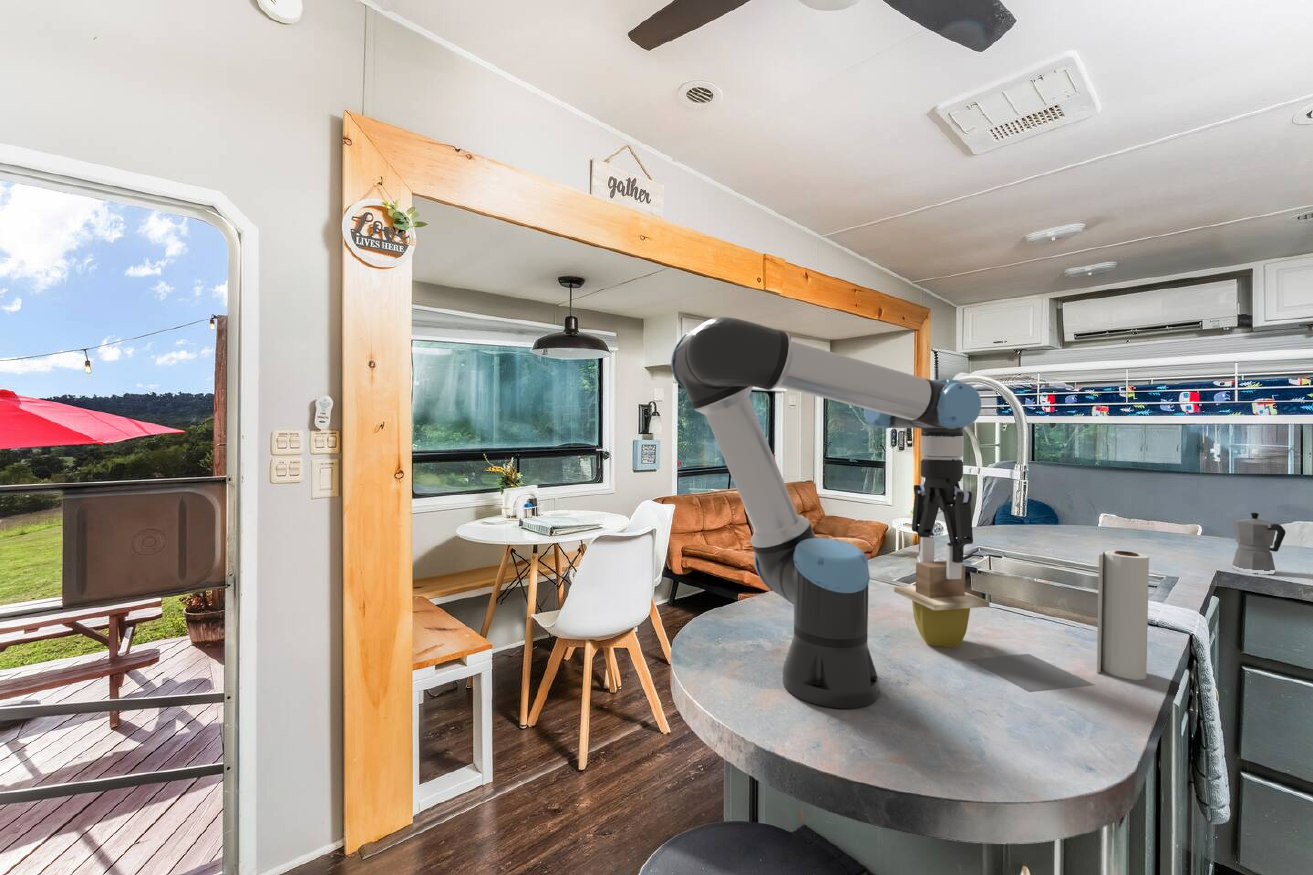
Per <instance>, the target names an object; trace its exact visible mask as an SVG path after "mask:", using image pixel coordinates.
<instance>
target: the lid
mask: <svg viewBox="0 0 1313 875" xmlns="http://www.w3.org/2000/svg"><path fill="white" fill-rule="evenodd" d="M946 570H947V560H944V561H943V560H941V561H934V562H920V561H919V562H916V563H915V585H909V586H908V585H907V586H895V587H893V588H894V593H896V594H897V595H899V596H900V595H901V596H902V597H905V598H907V599H909V600H911V601H912V600H913V601H915V602H917V603H919V604H921V605H924V606H926V607H928V608H930V609H932V610H949V609H963V608H970V609H975V608H976V609H977V608H978V609H979V608H988V607H990V600H987V599H984V598H982V597H979V596H976V595H974V594H972V593H969V592H966V565H964V564H962V574H961V579H947V578H946Z"/></svg>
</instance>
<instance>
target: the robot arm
mask: <svg viewBox="0 0 1313 875" xmlns="http://www.w3.org/2000/svg"><path fill="white" fill-rule="evenodd" d="M670 360H671V361H670V367H671V372H672V376H673V377H674V379H675V381H676V383H677V384H678V385H679V386H680V387H681V388H682V390H685V392H686V394H687V396H688V398H689V400H690V404H691V405H692V407H693V410H694V411H695V412H698V413H700V414H702V415H704V416H705V417H706V420H707V422H708V424H709V426H710V429H711V431H712V433H713V436H714V438H715V441H716V443H717V445H718V448H719V450H720V453H721V455H722V457H723V461H724V462H725V465H726V467H727V470H728V471H729V474H730V476H731V479H732V481H733V483H734V486H735V489H736V491H737V492H738V495H739V497H740V500H741V502H742V505H743V507H744V510H745V512H746V514H747V518H748V519H749V521H750V523H751V526H752V529H753V534H752V536H751V537H750V545H751V547H752V549H753V552H754V556H753V562H754V568H755V571H756V573H757V576H759V578H760V579H761V581H762V582H763V584H764V585H765V586H766V587H767V588H768V589H769V590H771V591H772V592H774V593H776V594H778V595H779V596H780V597H782V598H784V599H785V600H786V601H788V602H789V603H791V604H792V605H793V638H792V641H791V643H790V646H789V649H788V651H787V655H786V656H785V657H786V658H785V661H784V664H783V665H782V685H783V687H784V688H785V690H787V691H788V692H789V693H790V694H792V695H793V696H795V697H796V698H799V699H801V700H802V701H806V702H808V703H811V704H814V705H817V706H822V707H827V708H835V709H856V708H862V707H866V706H869V705H871V704H873V703H874V702H875V701H876V700H878V698H879V692H880V691H879V684H880V683H879V682H880V681H879V676H878V674H877V670H876V668H875V665H874V661H873V658H872V655H871V651H870V648H869V644H868V643H869V642H868V641H869V640H868V639H869V638H868V636H869V635H868V634H869V633H868V631H869V629H868V628H869V627H868V626H869V583H870V579H871V576H870V572H869V561H868V557H867V556H866V553H865V552H864V551H863V550H862V549H861V548H860V547H858V546H855V545H853V544H851V543H849V542H845V541H838V540H837V539H835V538H834V539H832V538H825V537H824V538H821V537H816V535H815V533H814V532H815V531H814V530H813V526H812V525H811V522H810V520H809V519H808V518H806V517H805V516H802V515H799V514H798V513H797V510H796V507H795V505H794V503H793V500H792V497H791V495H790V493H789V491H788V489H787V486H786V483H785V482H784V479H783V478H784V477H783V476H782V474H781V471H780V469H779V467H778V464H777V462H776V460H775V457H774V454H773V453H772V450H771V447H770V445H769V443H768V439H767V437H766V435H765V432H764V430H763V427H762V426H761V423H760V421H759V418H758V415H757V413H756V411H755V409H754V406H753V404H752V403H753V402H752V401H751V399H750V394H751V393H752V390H753V388H758V389H761V390H762V389H763V390H767V391H771V390H773V389H775V388H776V387H779V388H784V389H788V390H792V391H795V392H800V393H803V394H807V395H811V396H814V397H818V398H822V399H827V400H831V401H834V402H838V403H842V404H846V405H848V406H849V405H851V406H852V407H853V406H854V407H858V408H861V409H863V415H864V418H865V421H866V422H867V424H869V425H868V426H871V427H872V428H883V429H884V430H885V429H920V432H921V433H920V456H922V457H923V458H922V459H921V460H920V476H921V477H922V478H924V482H923V484H914V485H913V494H914V501H913V511H912V523H911V531H913V533H914V532H915V533H917V536H918V537H919V538H918V539H919V540H918V541H919V542H918V543H919V546H918V547H919V548H918V550H919V552H920V553H919V554H920V555H919V562H935V537H934V536H935V535H936V534H935V533H934V531H933V530H934V526H935V523H936V519H937V517H938V513H939V510H940V511H941V512H942V513H943V517H944V522H945V526H946V530H947V533H948V534H947V535H948V539H949V542H946V561H947V570H946V578H947V579H961V574H962V565H963V563H964V547H965V546H966V545H972V544H973V543H974V535H973V522H972V521H973V519H972V508H971V504H972V503H971V502H972V498H973V493H972V491H970V490H969V491H968V490H967V491H965V490H963V489H961V486H960V483H959V480H960V479H962V478H964V461H962V459H960V458H963V456H964V431H965V430H964V428H966V427H968V426H970V425H972V424H974V423H975V421H976V420H977V419H978V418H979V416H980V414H981V411H982V410H981V408H982V398H981V395H980V394H979V392H978V391H977V389H976V388H975V387H974V386H972V385H971V384H968V383H966V382H963V381H961V380H959V379H928V378H925V377H921V376H917V375H913V374H911V373H907V372H904V371H899V370H896V369H892V368H889V367H885V366H882V365H878V364H876V363H875V364H874V363H871V362H868V361H865V360H860V359H858V358H853V357H850V356H846V355H843V354H840V353H836V352H834V351H829V350H826V349H821V348H819V347H815V346H812V345H807V344H804V343H800V342H797V341H793V340H792V339H791V337H790V335H789V333H787V332H785V331H783V330H778V329H775V328H772V327H769V326H765V325H761V324H758V323H755V322H751V321H748V320H744V319H739V318H736V317H735V318H734V317H727V316H725V317H714V318H711V319H707V320H706V321H703V322H702V323H701V324H700V325H699V326H697V327H695V328H694V329H692V330H690V331H688V332H687V333H685V334H684V335H683V336H682V337H681V338H680V339H679V340H678V342H677V343H676V346H675V347H674V349H673V352H672V354H671V359H670Z"/></svg>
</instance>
